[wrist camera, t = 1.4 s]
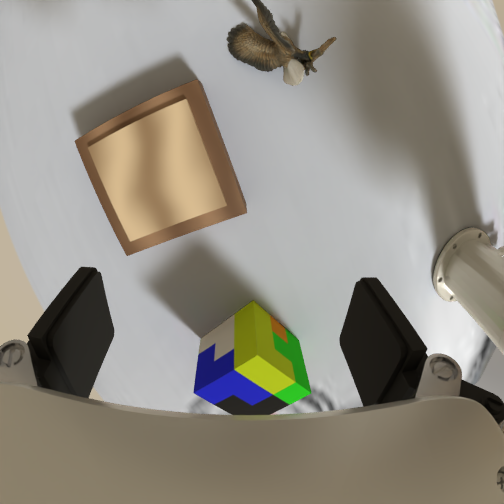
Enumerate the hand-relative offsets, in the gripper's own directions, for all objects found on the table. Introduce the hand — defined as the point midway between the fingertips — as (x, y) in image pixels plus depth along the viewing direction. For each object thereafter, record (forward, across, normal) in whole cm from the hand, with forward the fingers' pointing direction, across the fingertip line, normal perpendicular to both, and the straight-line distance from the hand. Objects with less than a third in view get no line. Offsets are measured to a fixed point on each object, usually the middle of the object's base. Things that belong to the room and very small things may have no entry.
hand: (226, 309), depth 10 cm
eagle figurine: (+23, -3, -15) cm, 28 cm away
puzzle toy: (+23, -3, +23) cm, 33 cm away
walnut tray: (+23, +8, -1) cm, 24 cm away
